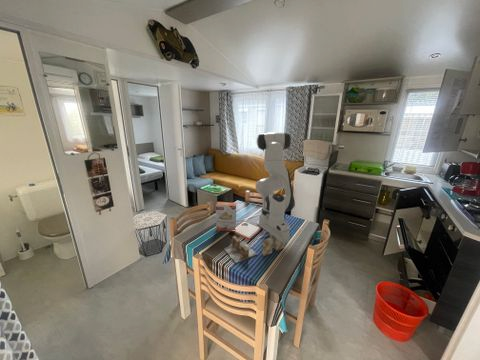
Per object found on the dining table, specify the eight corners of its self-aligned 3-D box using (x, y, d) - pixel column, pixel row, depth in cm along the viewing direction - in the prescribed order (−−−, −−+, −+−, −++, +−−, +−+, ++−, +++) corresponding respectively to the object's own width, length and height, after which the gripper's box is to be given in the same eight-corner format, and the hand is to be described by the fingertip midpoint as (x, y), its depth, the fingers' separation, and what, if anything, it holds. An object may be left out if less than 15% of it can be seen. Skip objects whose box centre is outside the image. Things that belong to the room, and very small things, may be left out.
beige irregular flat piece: (264, 256, 120) (265, 242, 117) (262, 254, 122) (263, 240, 118) (283, 247, 128) (285, 234, 125) (281, 246, 130) (283, 232, 126)
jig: (223, 248, 127) (223, 239, 125) (243, 241, 134) (243, 233, 132) (236, 264, 114) (236, 254, 112) (257, 255, 122) (257, 245, 119)
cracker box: (216, 230, 147) (215, 204, 140) (217, 226, 152) (217, 201, 146) (235, 232, 146) (235, 205, 139) (236, 227, 151) (236, 202, 145)
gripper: (261, 215, 125) (259, 234, 129) (284, 231, 108) (281, 252, 113) (268, 212, 128) (267, 231, 132) (292, 228, 112) (289, 248, 116)
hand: (274, 241), depth 123 cm, fingers closed on beige irregular flat piece, 2 cm apart
